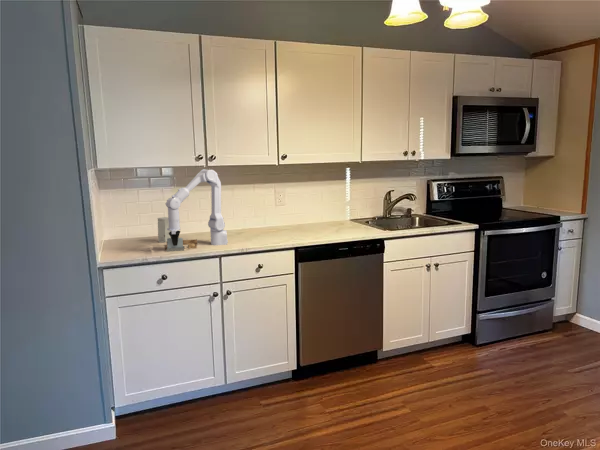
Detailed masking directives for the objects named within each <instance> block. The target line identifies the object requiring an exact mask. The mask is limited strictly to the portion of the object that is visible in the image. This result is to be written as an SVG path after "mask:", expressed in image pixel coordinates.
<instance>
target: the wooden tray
mask: <svg viewBox="0 0 600 450" xmlns="http://www.w3.org/2000/svg"><path fill="white" fill-rule="evenodd" d="M193 243H194V244H195V245H194V246H195V248H194V249H197V247H198V239H183V246H187V245H188V244H193ZM167 247H168V246H167V244H166V245H165V247H164V251H167ZM184 248H185V249H184V250H188V249H191V248H188V247H184Z"/></svg>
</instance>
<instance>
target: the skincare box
mask: <svg viewBox="0 0 600 450" xmlns="http://www.w3.org/2000/svg"><path fill="white" fill-rule="evenodd" d="M167 228H169V221H168V216H164V217H163V216H162V217H157V241H158V243H167V239H168V238H171V237H170V235H169V233H170V232H171V231H170V230H167Z"/></svg>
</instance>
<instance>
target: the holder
mask: <svg viewBox="0 0 600 450" xmlns="http://www.w3.org/2000/svg"><path fill="white" fill-rule="evenodd" d="M185 248H186V247H185V245H183V248H168V247H167V250H166V252H170V253H171V252H182V251H184V252H185V250H186V249H185Z"/></svg>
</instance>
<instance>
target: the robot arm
mask: <svg viewBox="0 0 600 450" xmlns="http://www.w3.org/2000/svg"><path fill="white" fill-rule="evenodd" d="M218 175H219V174H218V173H217V171H215V170H214V169H204V168H203V169H201V170H200V171H199V172H198V173H197V174H196V175H195V176H194V177H193V178H192V179H191V180H190V181H189V183H187V185H186V186H185V187H180V188H178V189H177V192H175V194H172V195H171V197H169V198H168V199H167V200H166V202H165V206H166V207H167V218H168V221H169V228H167V230H170V231H171V232H170V233H169V235H170V237H171V239H172V243H173V246H175V245H177V244H178V238H180V233H181V225H180V222H181V221H180V210H179V209H180V207H181V204H182V203H183V202H184V201H185V200H186V199H188V197H189V196H190V192H191V191H192V190H193V189H195V188H196V187H197V186H198V185H199V184H201V183H207V184H208V185H209V186H211V187H210V188H211V189H210V190H211V193H210V194H211V200H210V201H211V214H210V215H209V220H208V222H207V225H208V227H209V229H210V245H211V246H225V245H228V243H229V242H228V233H227V231H228V230H227V229H225V226H226V225H225V220H224V217H223V215H222V182H221V180H220V177H219V176H218Z"/></svg>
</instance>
